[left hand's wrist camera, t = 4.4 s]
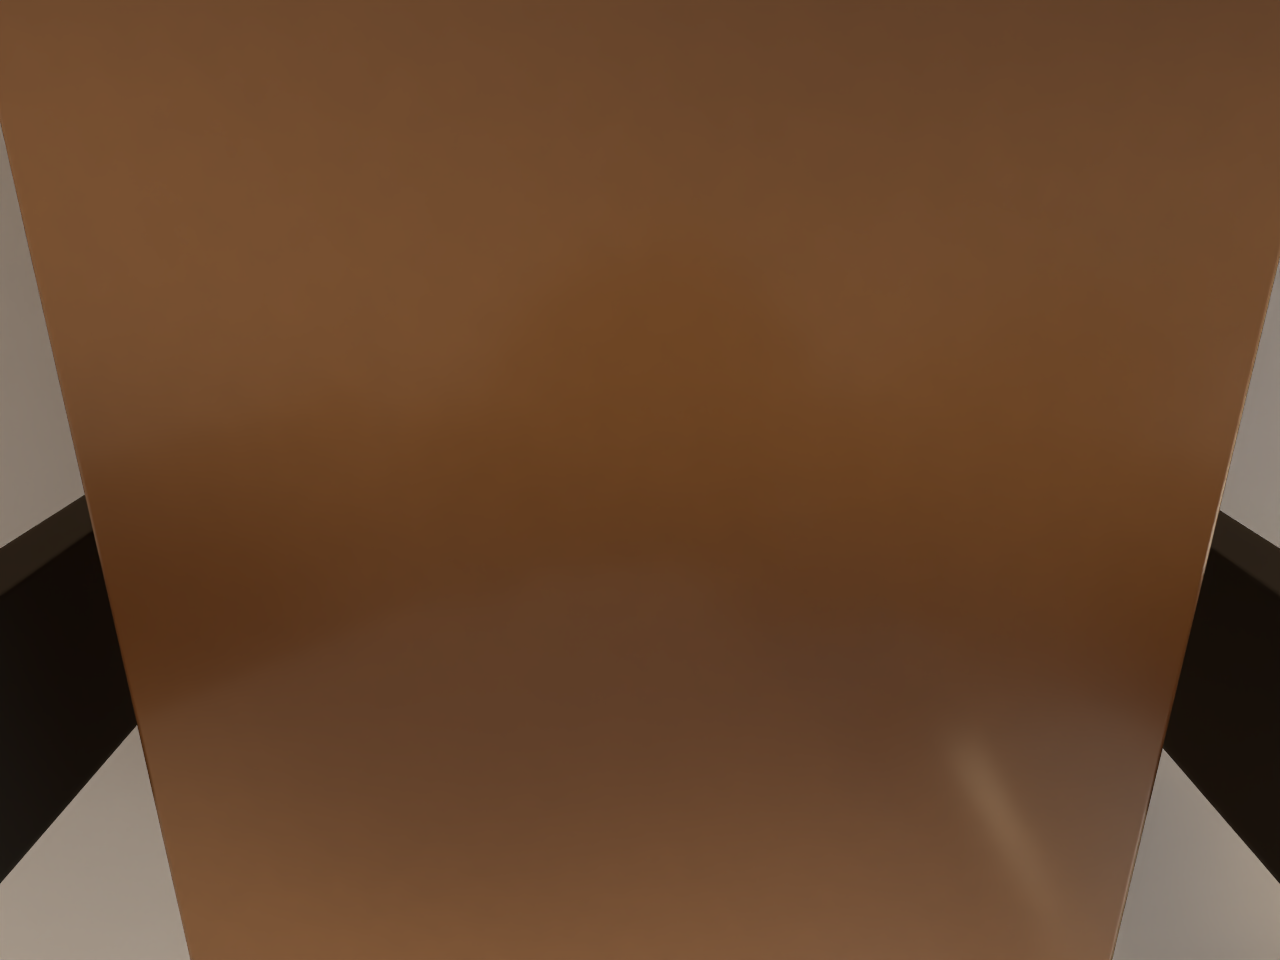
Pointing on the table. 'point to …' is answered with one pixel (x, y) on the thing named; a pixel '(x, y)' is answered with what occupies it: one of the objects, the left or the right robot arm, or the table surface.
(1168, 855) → the table surface
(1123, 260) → the wide beam
